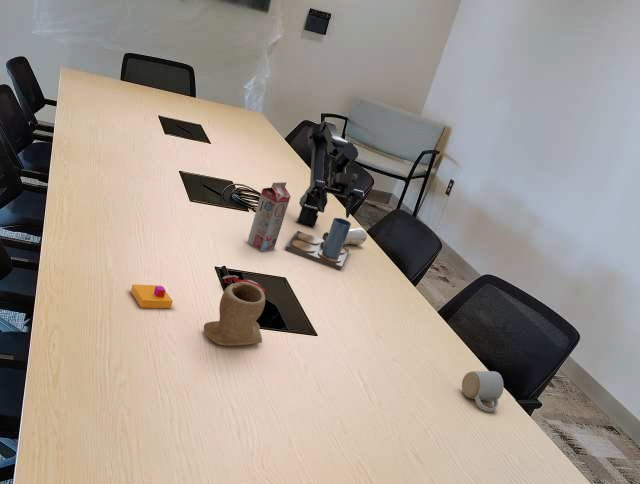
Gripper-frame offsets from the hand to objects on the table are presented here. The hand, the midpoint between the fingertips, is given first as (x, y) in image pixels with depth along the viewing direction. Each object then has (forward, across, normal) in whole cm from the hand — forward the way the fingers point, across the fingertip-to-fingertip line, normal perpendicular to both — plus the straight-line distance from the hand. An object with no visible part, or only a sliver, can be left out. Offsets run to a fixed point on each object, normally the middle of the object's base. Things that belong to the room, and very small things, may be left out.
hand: (335, 215), depth 231 cm
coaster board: (+11, -2, +8) cm, 14 cm away
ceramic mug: (+70, +21, -51) cm, 89 cm away
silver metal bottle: (-4, +19, +18) cm, 27 cm away
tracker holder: (+42, -37, -22) cm, 60 cm away
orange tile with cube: (+53, -64, -33) cm, 89 cm away
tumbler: (+14, 0, +3) cm, 14 cm away
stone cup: (+63, -44, -43) cm, 88 cm away
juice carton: (+15, -25, +4) cm, 29 cm away
